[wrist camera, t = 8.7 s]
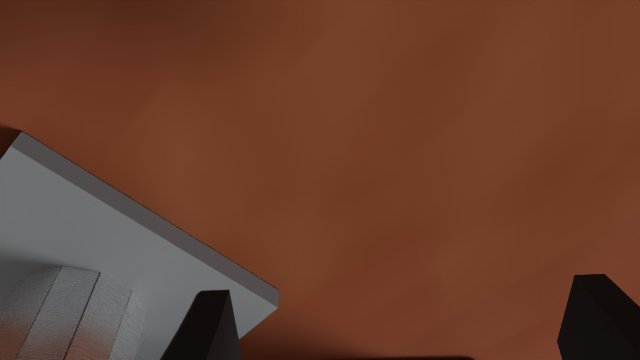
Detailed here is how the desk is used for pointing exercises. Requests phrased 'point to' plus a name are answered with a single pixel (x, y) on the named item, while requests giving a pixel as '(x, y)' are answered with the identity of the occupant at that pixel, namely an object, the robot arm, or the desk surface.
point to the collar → (71, 317)
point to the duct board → (112, 244)
